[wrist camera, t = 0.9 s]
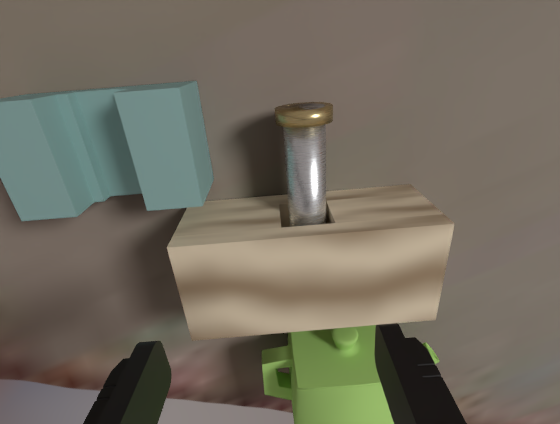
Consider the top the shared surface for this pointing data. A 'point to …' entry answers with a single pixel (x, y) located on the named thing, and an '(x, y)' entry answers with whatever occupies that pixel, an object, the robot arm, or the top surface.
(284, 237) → the beam
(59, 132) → the v block
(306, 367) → the green cube pot
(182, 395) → the top surface
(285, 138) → the axle
